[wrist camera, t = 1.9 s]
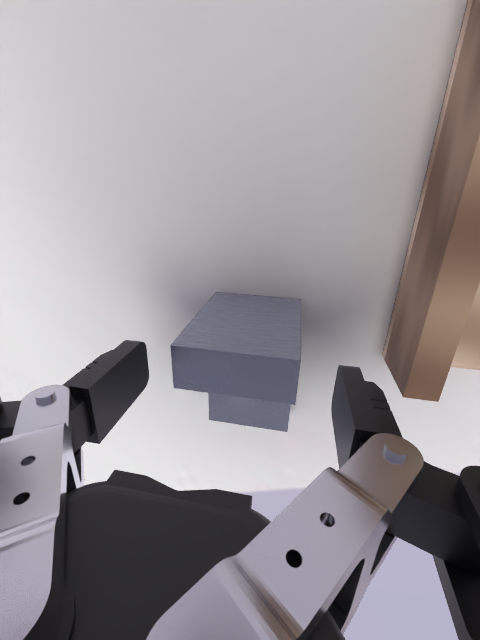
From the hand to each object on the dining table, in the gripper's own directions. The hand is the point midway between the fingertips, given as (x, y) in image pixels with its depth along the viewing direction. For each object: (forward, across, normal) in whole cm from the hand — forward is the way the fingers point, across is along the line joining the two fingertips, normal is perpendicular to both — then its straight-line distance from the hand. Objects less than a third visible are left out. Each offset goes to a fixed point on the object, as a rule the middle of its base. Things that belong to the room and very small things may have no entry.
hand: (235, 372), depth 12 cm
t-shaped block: (+6, 0, +3) cm, 7 cm away
